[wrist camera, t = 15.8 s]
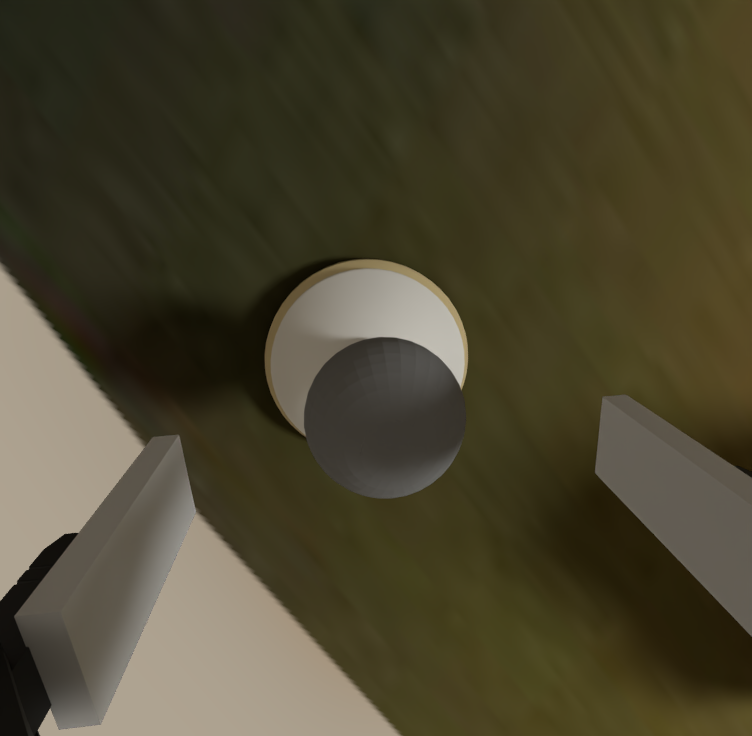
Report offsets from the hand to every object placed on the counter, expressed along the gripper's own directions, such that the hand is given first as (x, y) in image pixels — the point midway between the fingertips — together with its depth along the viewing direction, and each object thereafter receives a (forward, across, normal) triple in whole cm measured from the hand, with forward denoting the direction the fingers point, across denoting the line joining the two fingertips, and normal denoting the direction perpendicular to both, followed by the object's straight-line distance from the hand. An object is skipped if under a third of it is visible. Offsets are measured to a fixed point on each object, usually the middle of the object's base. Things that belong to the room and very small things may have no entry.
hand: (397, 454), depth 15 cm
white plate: (+12, 0, -1) cm, 12 cm away
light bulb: (+10, 0, 0) cm, 10 cm away
